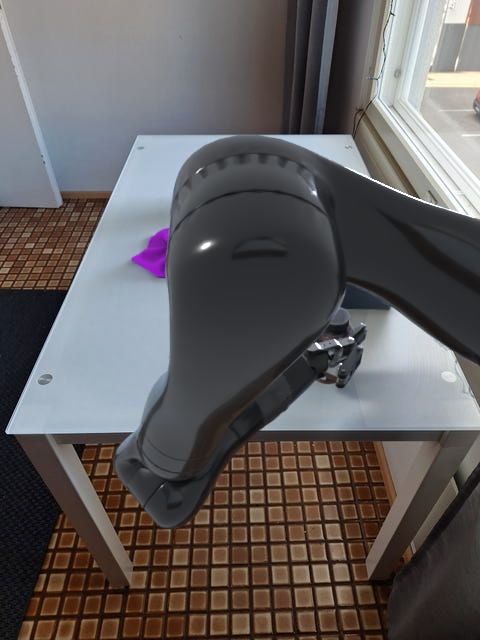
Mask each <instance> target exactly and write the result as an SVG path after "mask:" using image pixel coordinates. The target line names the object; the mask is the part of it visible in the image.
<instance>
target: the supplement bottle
mask: <svg viewBox="0 0 480 640" xmlns="http://www.w3.org/2000/svg"><path fill="white" fill-rule="evenodd" d="M350 319H351V316H350V313H349V311H348V310H347V309H343V308H341V307H340V309H339V310H338V312H337V314H336V315H335V317H334V319H333V320H332V322H331V323H330V324H329V326H328V327H327V328H326V330H325V331H324V332H323V333H322V334H321V335H320V337H319V338H318V339H320V340H322V341H327V340H331V339H336V340H340V339H343V338H346V337H347V335H348V334H349V333H351V332H352V331H353V330H354V327H353V324H351V322H350ZM342 349H343V348H342ZM328 354H329V350H328ZM346 359H347V357H345V358H342V359H339V360H338V361H337V362H336V363H334V364H331V365H329V367H330V368H333V367H335V366H336V365H338V364H339V363H342V364H343V363H344V361H345V360H346ZM315 382H317V383H319V384H322V385H336V381H334V380H332V379H329V378H327V377H324V378H321V379H318V380H316V381H315Z"/></svg>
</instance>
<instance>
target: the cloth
mask: <svg viewBox="0 0 480 640" xmlns="http://www.w3.org/2000/svg"><path fill="white" fill-rule="evenodd" d="M168 235H169V227H166V228H162V229H161V230H159V231H157V232H156V233H155V234H153V235H151V236H150V237H149V239H148V243H147V248H145V249H144V250H142V251H140V252H139V253H137V254H136V255H134V256H132V257H131V258H130V261H132V262H134V263H135V264H137V265H139V266H141V267H142V268H144V269H146V270H147V271H148V272H149V273H151V274H153V275H154V276H155V277H156V278H166V276H165V265H166V254H167V244H168Z"/></svg>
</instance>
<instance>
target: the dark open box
mask: <svg viewBox="0 0 480 640" xmlns="http://www.w3.org/2000/svg"><path fill="white" fill-rule="evenodd" d="M340 307H341V308H343V309H345V310H348V309H350V310H391V308H392V307H391V306H390V305H388V304H387V303H385V302H384V301H382V300H381V299H379V298H377V297H375V296H373V295H372V294H370V293H368V292H366V291H364V290H361V289H359V288H357V287H354V286H351V285H349V284H346V292H345V296H344V298H343V301H342V303H341V306H340Z"/></svg>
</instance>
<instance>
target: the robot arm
mask: <svg viewBox="0 0 480 640" xmlns="http://www.w3.org/2000/svg"><path fill="white" fill-rule="evenodd" d="M170 206H171V207H170V218H169V226H168V228H169V235H168V244H167V254H166V265H165V276H166V277H165V281H166V288H167V295H168V315H169V316H168V319H169V322H168V324H169V325H168V326H169V355H168V357H169V358H168V359H169V360H168V367H167V370H166V371H165V372H164V373H163V374H162V375H160V376H159V378H158V379H157V380H156V381H155V382H154V384H153V386H151V389H150V392H149V393H148V396H147V398H146V401H145V403H144V407H143V410H142V415H141V418H140V422H139V426H138V427H137V428H136V430H135V431H133V432H132V433H131V434H129V435H128V436H127V437H126V438H125V439H124V440H123V441H122V442H121V443H120V444H119V445H118V446H117V448H116V450H115V451H114V454H113V457H112V466H113V470H114V474H115V475H116V477H117V478H118V480H119V481H120V483H121V484H122V485H123V486H124V487H125V489H126V490H127V492H129V494H130V495H131V496H132V497H133V499H135V501H136V502H137V503H138V504H139V505H140V506H141V508H142V509H144V512H145V513H146V514H147V515H148V517H149V518H150V519H151V520H152V521H153V523H155V524H156V525H157V526H158V527H159V528H162V529H164V530H174V529H178V528H182V527H184V526H186V525H187V524H189V523H190V522H191V521H192V520H193V519H195V517H196V516H197V515H198V514H199V512H200V511H201V510H202V509H203V507H204V505H205V503H206V502H207V500H208V498H209V496H210V495H211V493H212V491H213V489H214V487H215V485H216V484H217V482H218V481H219V478H220V477H221V475H222V474H223V472H224V470H225V469H226V468H227V466H228V465H229V463H230V462H231V460H232V459H233V458H234V457H235V456H236V455H237V454H238V452H239V451H240V450H241V449H243V447H244V446H245V445H247V443H248V442H249V441H250V440H252V439H253V438H254V437H255V436H256V435H257V434H258V433H259V432H260V431H262V430H263V428H265V427H266V426H268V425H269V424H271V423H272V422H274V421H275V420H277V419H278V417H280V415H282V414H283V413H284V412H286V411H287V410H288V409H289V407H291V405H292V404H293V403H295V401H296V400H298V399H299V398H300V397H301V396H302V395H303V394H304V393H305V392H307V390H308V389H310V387H311V386H312V385H313V384H314V382H317V381H316V380H318V379H321V378H324V377H327V378H329V379H332V380H334V381H336V383H335V387H336V388H337V389H345V388H346V386H347V385H348V383H349V382H350V381H351V378H353V376H354V374H355V373H356V371H357V370H358V368H359V367H360V365H361V364H362V360H363V359H362V358H363V354H364V348H363V346H361V344H363V343H364V341H366V337H367V333H368V329H367V325H366V324H365V323H362V322H360V323H359V324H358V325H357V326H356V327H355V328H353V331H352V332H351V333H349V334H348V335H347V337H346V338H343V339H340V340H336V339H331V340H327V341H322V340H320V339H318V338H319V337H320V335H321V334H322V333H323V332H324V331H325V330H326V328H327V327H328V326H329V324H330V323H331V322H332V320H333V319H334V317H335V315H336V314H337V312H338V310H339V309H340V306H341V303H342V301H343V298H344V296H345V292H346V284H349V285H351V286H354V287H357V288H359V289H361V290H364V291H366V292H368V293H370V294H372V295H373V296H375V297H377V298H379V299H381V300H382V301H384V302H385V303H387V304H388V305H390V306H391V308H392V309H394V310H395V311H397V312H398V313H400V314H401V315H402V316H403V317H404V318H406V319H407V320H409V321H410V322H411V323H412V324H414V325H415V326H416V327H418V328H419V329H420V330H421V331H423V332H424V333H426V334H427V335H428V336H429V337H431V338H433V339H434V341H437V342H438V343H439V344H441V345H443V346H444V347H445V348H447V349H449V351H451V352H453V353H455V354H457V355H458V356H459V357H461V358H462V359H464V360H466V361H468V362H469V363H471V364H473V365H475V366H478V367H480V218H477V217H474V216H471V215H468V214H465V213H462V212H459V211H455V210H453V209H448V208H446V207H442V206H438V205H436V204H432V203H429V202H426V201H424V200H422V199H419V198H416V197H413V196H411V195H408V194H406V193H404V192H401V191H399V190H397V189H394V188H392V187H390V186H388V185H385V184H384V183H381V182H379V181H377V180H375V179H372V178H370V177H368V176H367V175H364V174H362V173H359V172H358V171H356V170H354V169H351V168H349V167H346V166H344V165H342V164H340V163H338V162H336V161H334V160H332V159H330V158H328V157H325V156H324V155H322V154H319V153H318V152H315V151H312V150H310V149H308V148H306V147H304V146H301V145H300V144H299V145H298V144H296V143H293V142H290V141H288V140H285V139H281V138H277V137H271V136H265V135H260V134H237V135H232V136H226V137H222V138H218V139H216V140H214V141H211V142H209V143H206V144H205V145H203V146H201V147H200V148H198V149H197V150H196V151H194V152H193V153H192V154H190V156H189V157H188V158H187V159H185V161H184V163H183V164H182V166H181V167H180V169H179V171H178V174H177V176H176V179H175V182H174V186H173V191H172V197H171V205H170ZM342 348H343V349H342ZM328 350H329V354H328ZM345 357H347V359H346V360H345V361H344V363H343V364H342V363H339V364H338V365H336V366H335V367H333V368H330V367H329V365H331V364H334V363H336V362H337V361H338V360H339V359H342V358H345Z"/></svg>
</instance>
